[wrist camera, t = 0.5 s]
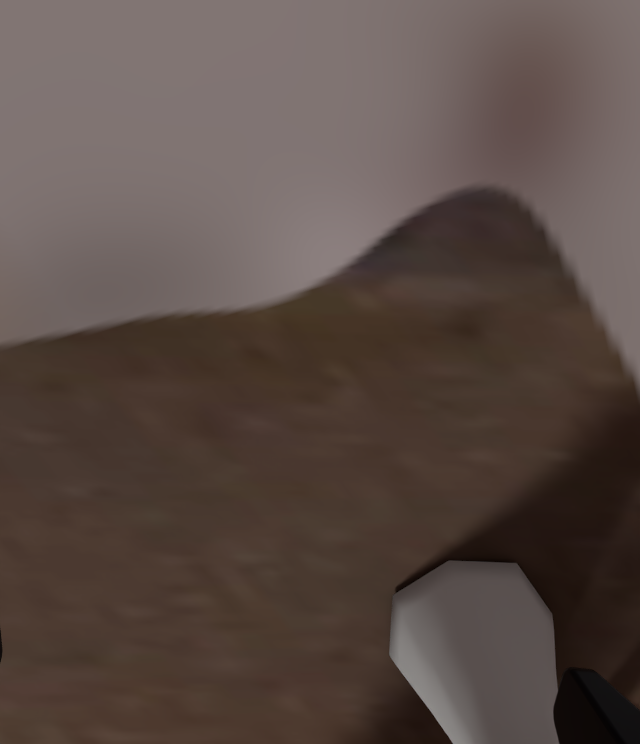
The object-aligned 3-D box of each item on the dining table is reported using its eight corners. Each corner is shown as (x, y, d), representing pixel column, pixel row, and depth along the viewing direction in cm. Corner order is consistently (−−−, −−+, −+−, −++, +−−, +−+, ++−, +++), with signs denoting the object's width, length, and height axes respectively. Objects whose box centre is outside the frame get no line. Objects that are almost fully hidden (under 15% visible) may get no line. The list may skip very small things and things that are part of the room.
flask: (530, 535, 23) (675, 723, 13) (568, 681, 24) (728, 956, 14) (366, 578, 24) (388, 790, 14) (410, 720, 25) (460, 1010, 15)
